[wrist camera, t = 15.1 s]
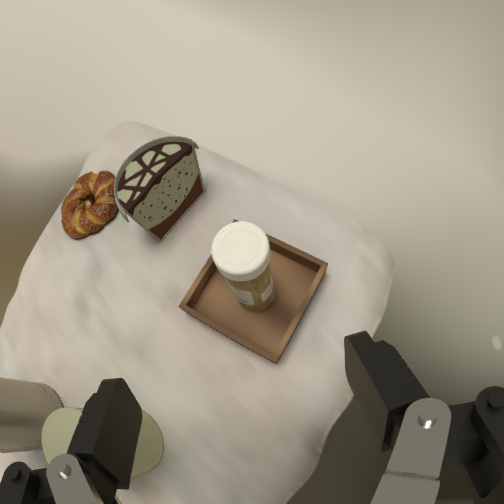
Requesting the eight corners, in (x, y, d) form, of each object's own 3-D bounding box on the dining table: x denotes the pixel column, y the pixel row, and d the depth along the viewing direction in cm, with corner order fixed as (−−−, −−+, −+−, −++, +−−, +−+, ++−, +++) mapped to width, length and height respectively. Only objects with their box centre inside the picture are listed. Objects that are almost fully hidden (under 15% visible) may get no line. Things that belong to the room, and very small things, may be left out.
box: (276, 363, 33) (275, 362, 31) (186, 312, 37) (178, 306, 34) (325, 272, 37) (328, 263, 34) (237, 230, 40) (234, 219, 38)
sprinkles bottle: (282, 300, 36) (280, 255, 23) (247, 319, 35) (226, 285, 23) (262, 268, 37) (251, 209, 25) (228, 286, 37) (200, 236, 25)
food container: (182, 167, 46) (161, 121, 36) (212, 184, 44) (195, 136, 35) (126, 228, 42) (92, 190, 33) (153, 250, 40) (120, 213, 31)
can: (149, 485, 28) (99, 515, 17) (90, 447, 30) (30, 459, 19) (174, 427, 31) (127, 443, 20) (112, 391, 33) (51, 388, 22)
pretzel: (92, 253, 42) (79, 243, 38) (55, 225, 45) (43, 215, 41) (138, 189, 45) (129, 175, 42) (97, 170, 48) (87, 157, 45)
